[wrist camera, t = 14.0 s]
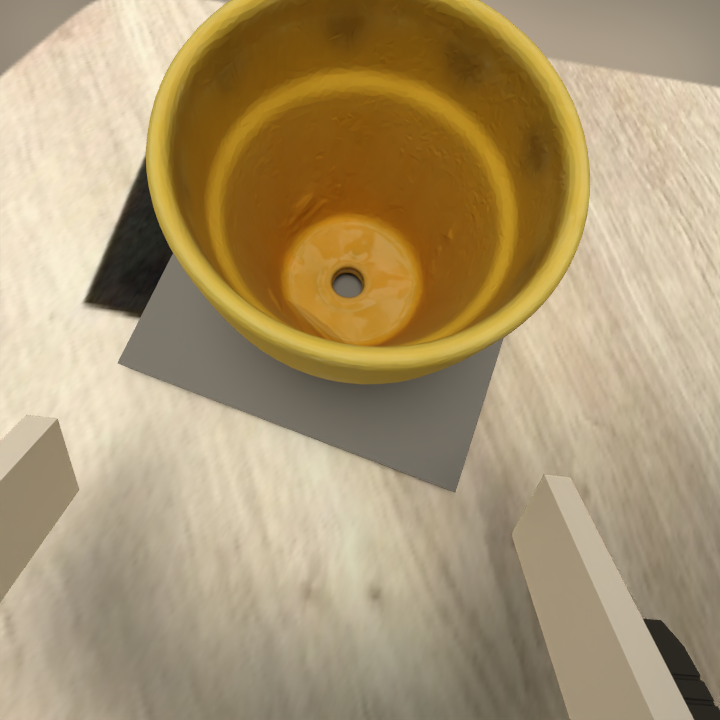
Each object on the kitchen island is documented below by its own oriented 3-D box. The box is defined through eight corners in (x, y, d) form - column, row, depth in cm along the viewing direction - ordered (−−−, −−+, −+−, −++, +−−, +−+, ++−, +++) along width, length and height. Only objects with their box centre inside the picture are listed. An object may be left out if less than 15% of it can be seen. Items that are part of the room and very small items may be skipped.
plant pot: (260, 434, 18) (193, 427, 8) (208, 209, 20) (101, -15, 10) (492, 373, 19) (661, 305, 10) (425, 167, 21) (514, -65, 11)
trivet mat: (528, 237, 22) (537, 227, 21) (448, 489, 19) (455, 492, 18) (248, 126, 22) (244, 111, 21) (127, 367, 19) (117, 363, 18)
